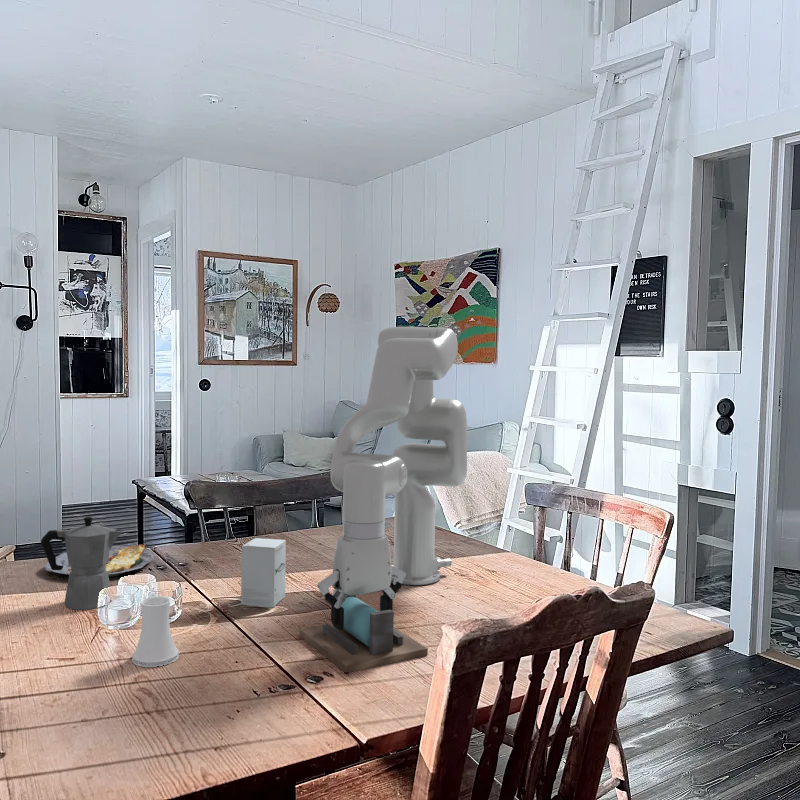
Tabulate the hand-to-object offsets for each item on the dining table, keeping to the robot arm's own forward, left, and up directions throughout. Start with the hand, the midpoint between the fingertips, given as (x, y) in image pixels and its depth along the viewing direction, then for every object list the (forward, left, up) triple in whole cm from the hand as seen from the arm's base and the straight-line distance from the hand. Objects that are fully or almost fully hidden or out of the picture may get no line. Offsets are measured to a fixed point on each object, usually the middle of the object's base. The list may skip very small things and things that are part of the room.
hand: (362, 623), depth 139 cm
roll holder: (0, 0, -4) cm, 4 cm away
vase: (+34, -11, -4) cm, 36 cm away
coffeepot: (+40, -46, -4) cm, 62 cm away
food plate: (+32, -73, -4) cm, 80 cm away
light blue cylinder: (0, 0, -3) cm, 3 cm away
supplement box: (+7, -31, -4) cm, 32 cm away
